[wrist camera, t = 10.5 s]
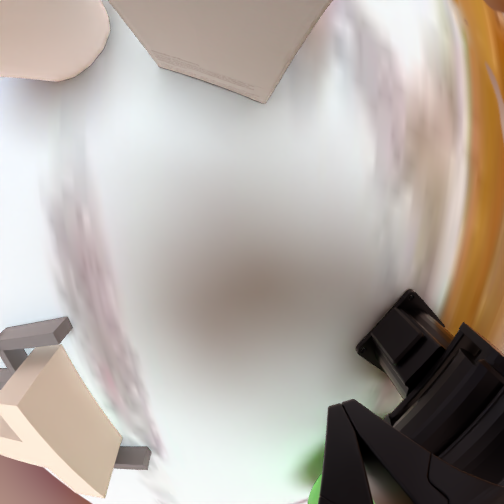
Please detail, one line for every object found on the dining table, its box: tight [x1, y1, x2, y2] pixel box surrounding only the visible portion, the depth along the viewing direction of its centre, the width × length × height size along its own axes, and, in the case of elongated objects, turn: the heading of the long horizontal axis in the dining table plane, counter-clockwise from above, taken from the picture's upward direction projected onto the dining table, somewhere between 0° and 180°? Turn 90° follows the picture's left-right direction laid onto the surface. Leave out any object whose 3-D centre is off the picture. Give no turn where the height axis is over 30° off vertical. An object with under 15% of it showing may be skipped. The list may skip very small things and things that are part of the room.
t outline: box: [0, 317, 151, 470], centre depth 21 cm, size 20×17×2 cm
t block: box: [0, 344, 122, 498], centre depth 18 cm, size 14×12×8 cm
